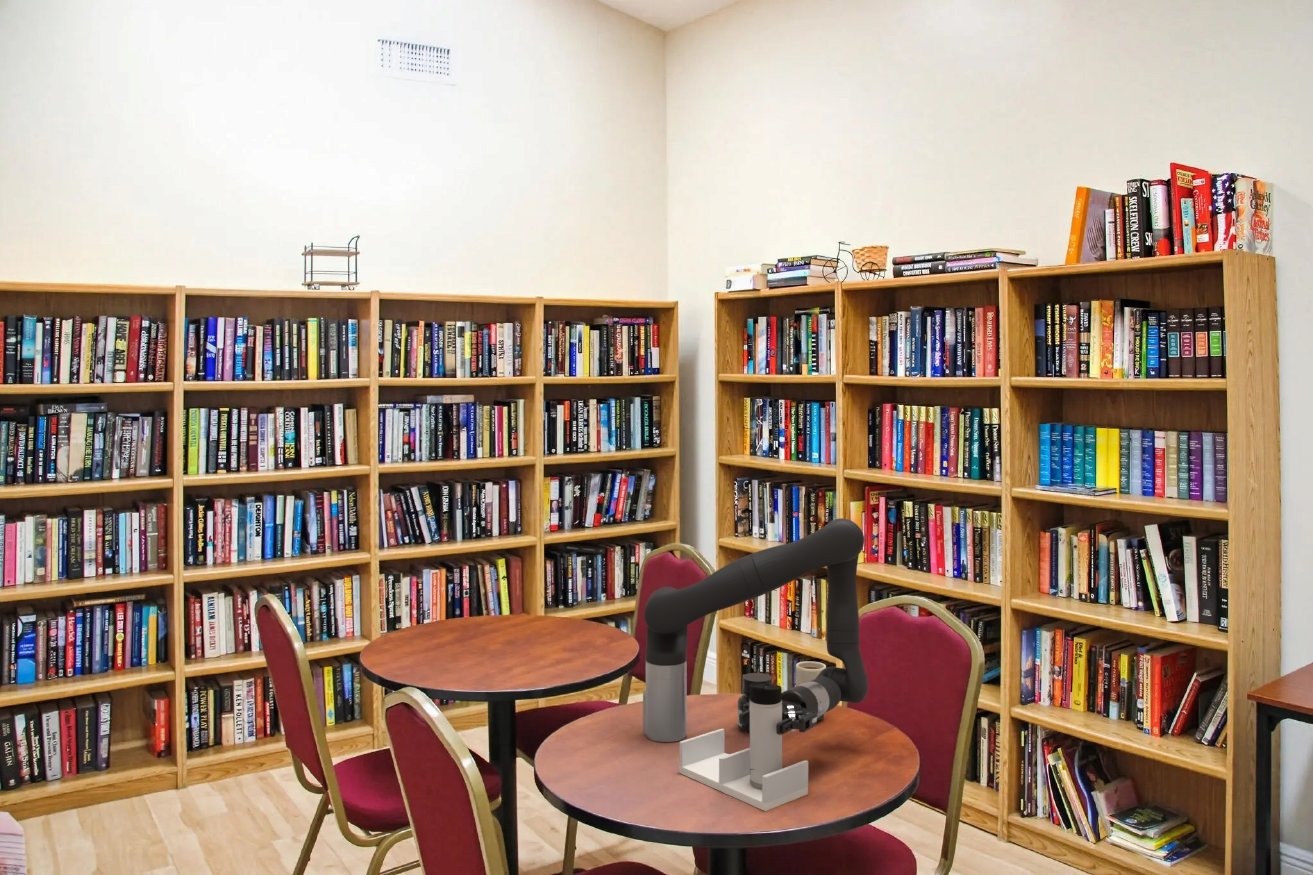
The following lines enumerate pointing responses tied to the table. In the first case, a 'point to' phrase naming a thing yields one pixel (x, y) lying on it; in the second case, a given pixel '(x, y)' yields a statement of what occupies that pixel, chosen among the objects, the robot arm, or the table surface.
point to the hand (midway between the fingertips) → (759, 724)
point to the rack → (739, 772)
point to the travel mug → (764, 731)
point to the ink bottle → (745, 698)
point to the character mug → (808, 673)
